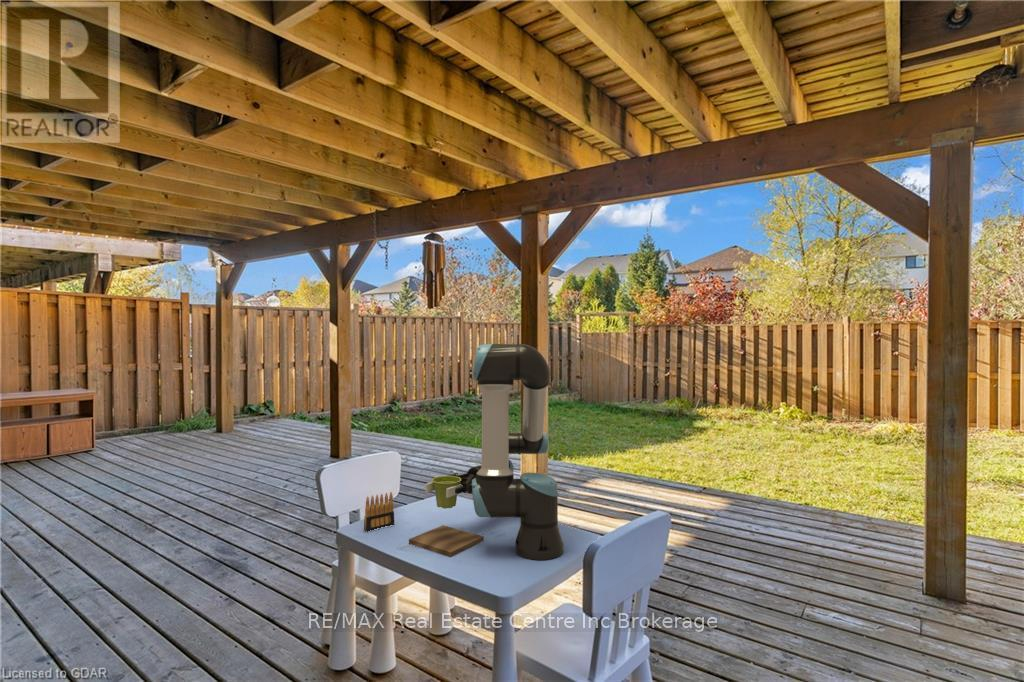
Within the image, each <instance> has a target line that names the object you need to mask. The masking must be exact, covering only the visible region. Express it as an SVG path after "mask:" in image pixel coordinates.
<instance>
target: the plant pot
mask: <svg viewBox="0 0 1024 682" xmlns="http://www.w3.org/2000/svg"><path fill="white" fill-rule="evenodd" d="M460 481H461V478H459V477H455V476H447V475H441V476H435V477H434V478H432V479H431V482H433V484H434V486H435V490H434V494H435V501H436V506H437V508H442V509H452V508H453V507H456V505H457V498H458V494H457V495H454V496H451V497H449V498H447V497H446V489H447V488H450V487H453V486H456V485H459V484H460Z"/></svg>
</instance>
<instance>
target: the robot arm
mask: <svg viewBox="0 0 1024 682" xmlns="http://www.w3.org/2000/svg"><path fill="white" fill-rule="evenodd" d="M472 379H473V381H476V383H477V384H476V385H477V387H478V389H479V390H480V391H481V464H479V465H476V466H473V467H470V468H469V469H468V471H467V472H466V473H463V474H459V473H457V472H455V473H451V474H449V475H446V476H455V477H459V478H461V481H460V484H459V485H456V486H453V487H450V488H447V489H446V497H447V498H449V497H451V496H454V495H457V496H458V495H460V494H462V493H464V494H466V493H467V494H472V500H473V508H474V511H475V512H474V513H475V515H476V516H478V517H479V518H489V519H493V518H497V519H500V518H503V519H505V518H506V519H509V518H510V519H511V518H514V519H515V518H519V519H520V526H519V529H518V532H517V534H516V538H515V542H514V552H515V553H516V554H517V555H518V556H519V557H522V558H524V559H529V560H536V561H544V560H553V559H555V557H556V558H559V557H560V556H561V555H562V554H563V553H564V541H563V539H562V536H561V532H560V528H559V524H558V523H559V521H558V519H559V517H558V515H559V512H558V511H559V509H558V507H559V506H558V503H559V502H558V500H559V499H558V498H559V497H558V496H559V489H558V482H557V480H556V479H555V478H553V477H552V476H550V475H548V474H545V473H544V474H543V473H537V472H523V473H522V474H521V475H520V476H519V478H514V474H515V473H514V465H513V462H512V460H511V459H510V458H509V455H512V454H513V455H514V454H515V455H525V454H526V455H540V454H546V453H548V450H549V437H548V434H547V433H546V432H544V429H545V428H544V425H545V413H546V412H545V411H546V409H545V408H546V399H547V395H546V393H547V387H548V386H549V384H550V382H551V371H550V368H549V365H548V362H547V360H546V358H545V357H544V356H543V355H542V353H541V351H539V350H538V349H536V348H535V347H533V346H531V345H528V344H525V343H519V344H514V343H512V344H511V343H487V344H485V343H484V344H479V346H477V348H476V351H475V356H474V363H473V372H472ZM514 381H520V382H521V384H522V386H523V397H522V398H523V399H522V401H523V402H522V403H523V404H522V432H509V431H510V429H509V428H510V427H509V426H510V422H509V419H510V418H509V417H510V411H509V410H510V402H509V401H510V400H509V399H510V396H509V395H510V394H509V393H510V391H511V390H512V388H513V387H514ZM424 489H425V492H424V493H426V494H428V493H430V492H431V493H432V492H435V486H434V484H433V482H432V481H431V482H428V483H425V485H424ZM552 558H553V559H552Z"/></svg>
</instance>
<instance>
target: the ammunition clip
mask: <svg viewBox="0 0 1024 682" xmlns="http://www.w3.org/2000/svg"><path fill="white" fill-rule="evenodd" d="M388 495H389V497H388ZM393 497H394V495H393V492H392V491H390V492H389V494H388V492H385V494H384V495H383V493H380V496H379V495H378V494H376V495H375V498H374V495H371V497H370V498H369V496H367V497H366V499H365V507H364V509H365V510H364V519H363V520H364V521H363V522H364V524H363V531H364V530H365V531H370V530H374V529H377V528H381V527H385V526H390V525H394V526H395V511H394V499H393ZM365 531H364V532H365ZM374 531H375V530H374ZM370 532H371V531H370Z"/></svg>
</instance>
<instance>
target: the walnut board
mask: <svg viewBox="0 0 1024 682" xmlns="http://www.w3.org/2000/svg"><path fill="white" fill-rule="evenodd" d="M484 539H485V538H484V535H480V534H477V533H472V532H469V531H465V530H462V529H458V528H456V527H455V528H454V527H451V526H448V525H440V526H437V527H436V528H435V527H434V528H433V529H431V530H428V531H425V532H422V533H420V534H417V535H416V536H414V537H410V538H409V539H408V544H409V545H411V544H412V545H411V546H414V545H415V546H414V547H417V546H418V548H420V547H421V549H423V548H424V550H426V549H427V551H430V552H433V553H435V554H439V555H443V556H445V557H449V558H452V557H454V556H455V555H456V556H457V555H458V554H461V553H462V552H464V551H465V550H468V549H470V548H471V547H473V546H476V545H478V544H481V543H482V542H484Z"/></svg>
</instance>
